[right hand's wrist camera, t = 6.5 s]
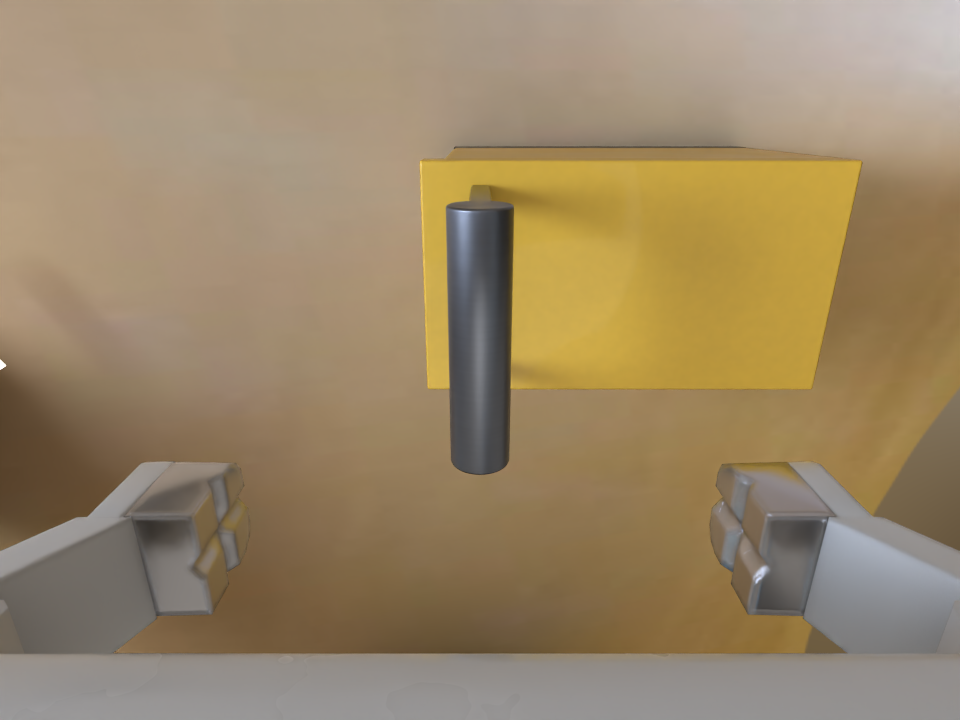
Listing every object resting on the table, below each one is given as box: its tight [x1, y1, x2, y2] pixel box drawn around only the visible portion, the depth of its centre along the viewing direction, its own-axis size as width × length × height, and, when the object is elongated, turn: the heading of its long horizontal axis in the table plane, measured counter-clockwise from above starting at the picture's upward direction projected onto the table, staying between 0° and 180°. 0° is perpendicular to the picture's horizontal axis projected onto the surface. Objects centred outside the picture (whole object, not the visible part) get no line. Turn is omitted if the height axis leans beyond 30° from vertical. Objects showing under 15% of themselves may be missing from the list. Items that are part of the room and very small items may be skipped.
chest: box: [445, 147, 843, 159], centre depth 30 cm, size 15×9×11 cm, turn 90°
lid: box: [420, 159, 862, 475], centre depth 21 cm, size 16×9×9 cm, turn 90°
